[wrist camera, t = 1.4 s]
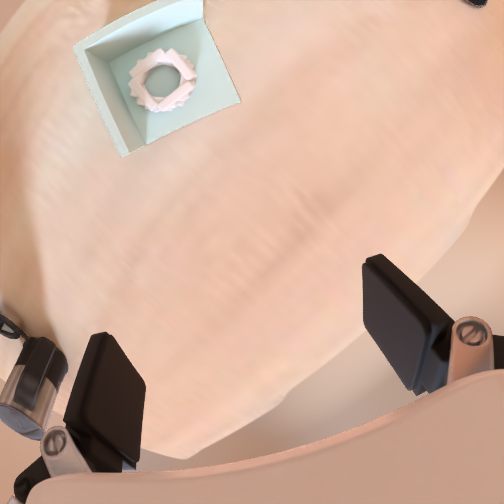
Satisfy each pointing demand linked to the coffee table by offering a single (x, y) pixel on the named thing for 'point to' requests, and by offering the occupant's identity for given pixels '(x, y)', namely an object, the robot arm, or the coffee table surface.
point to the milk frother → (31, 384)
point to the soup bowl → (478, 2)
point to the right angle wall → (154, 72)
